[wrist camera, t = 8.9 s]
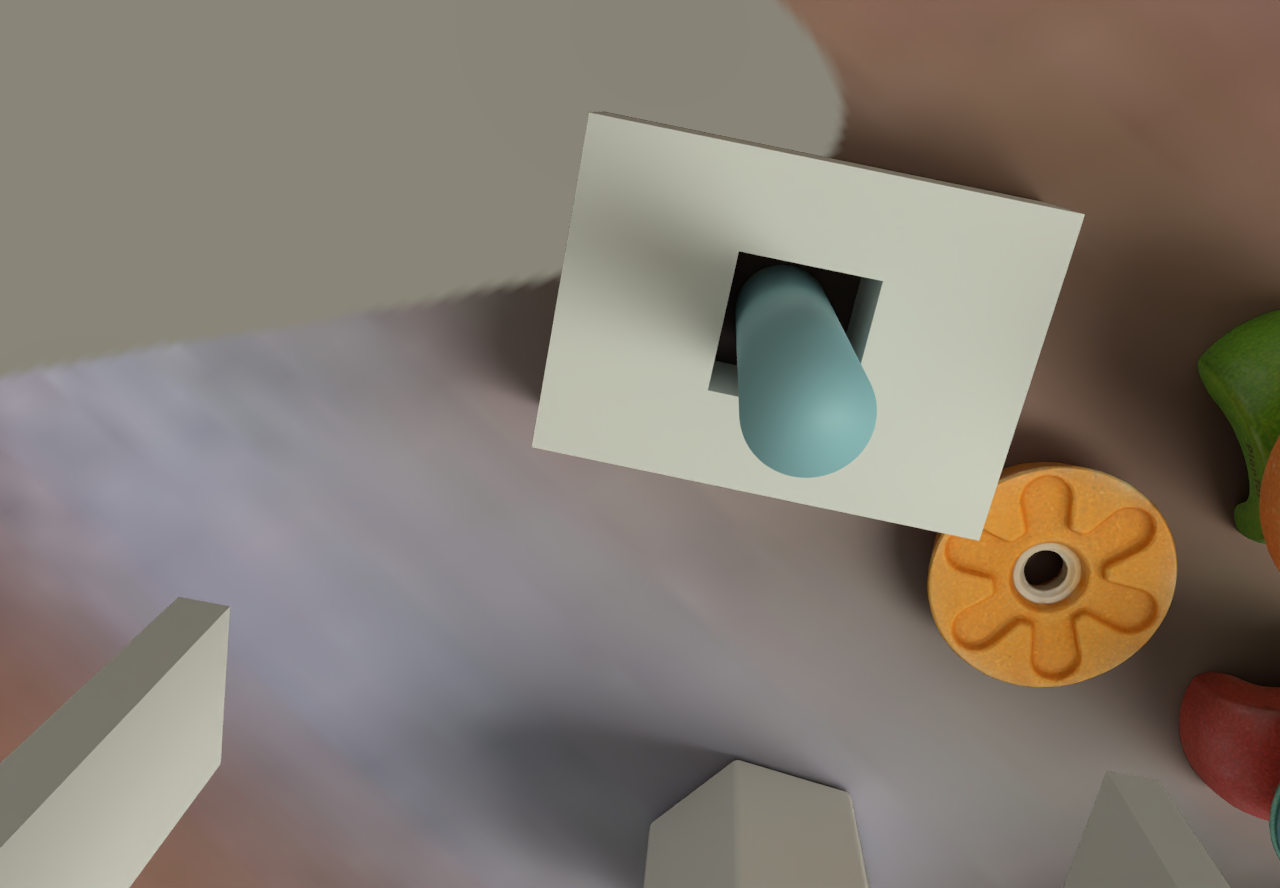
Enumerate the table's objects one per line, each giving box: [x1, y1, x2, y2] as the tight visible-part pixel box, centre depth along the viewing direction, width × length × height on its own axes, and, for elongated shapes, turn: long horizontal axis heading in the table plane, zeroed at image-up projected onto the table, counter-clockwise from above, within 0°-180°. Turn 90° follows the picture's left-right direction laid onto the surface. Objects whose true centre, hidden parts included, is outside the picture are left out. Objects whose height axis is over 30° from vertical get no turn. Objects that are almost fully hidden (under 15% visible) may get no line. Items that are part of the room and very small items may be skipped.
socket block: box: [532, 112, 1085, 541], centre depth 33 cm, size 14×10×4 cm
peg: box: [735, 265, 877, 478], centre depth 29 cm, size 3×3×12 cm
